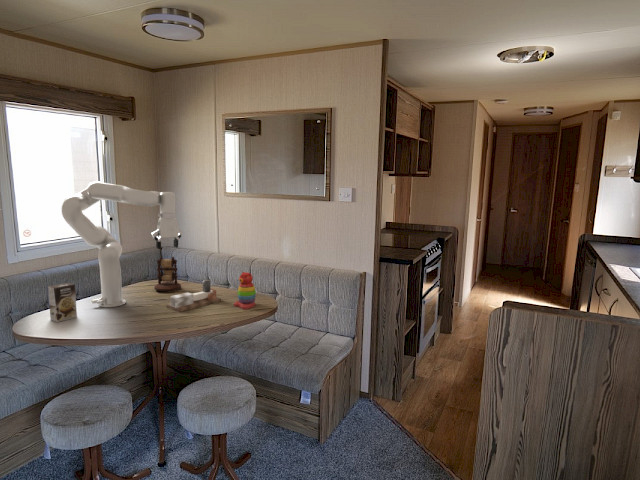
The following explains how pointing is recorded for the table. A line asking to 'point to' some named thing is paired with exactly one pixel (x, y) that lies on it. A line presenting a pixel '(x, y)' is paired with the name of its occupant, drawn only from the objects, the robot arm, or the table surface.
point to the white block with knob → (205, 291)
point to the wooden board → (190, 301)
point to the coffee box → (62, 302)
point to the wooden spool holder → (167, 275)
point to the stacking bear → (246, 292)
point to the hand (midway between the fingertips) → (167, 248)
